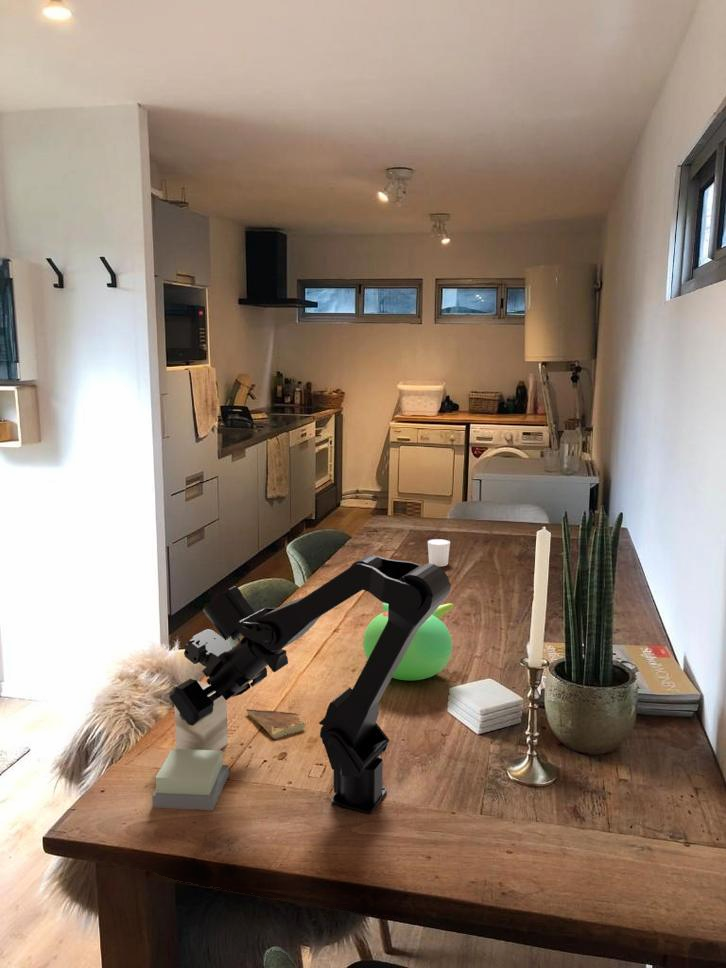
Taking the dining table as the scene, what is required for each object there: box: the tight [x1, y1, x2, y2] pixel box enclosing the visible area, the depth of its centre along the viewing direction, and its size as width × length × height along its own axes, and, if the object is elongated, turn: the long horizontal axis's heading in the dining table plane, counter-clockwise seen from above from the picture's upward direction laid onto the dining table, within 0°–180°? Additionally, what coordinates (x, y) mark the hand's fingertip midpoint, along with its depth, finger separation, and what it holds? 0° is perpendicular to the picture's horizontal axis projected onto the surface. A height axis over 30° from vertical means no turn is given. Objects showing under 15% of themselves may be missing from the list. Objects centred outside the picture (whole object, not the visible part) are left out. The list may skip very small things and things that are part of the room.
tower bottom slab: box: [151, 764, 230, 811], centre depth 116 cm, size 9×9×2 cm
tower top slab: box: [155, 748, 224, 795], centre depth 116 cm, size 8×8×2 cm
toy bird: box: [362, 602, 454, 682], centre depth 155 cm, size 18×17×15 cm
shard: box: [245, 709, 307, 740], centre depth 138 cm, size 11×8×2 cm
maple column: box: [173, 680, 229, 750], centre depth 128 cm, size 6×6×10 cm
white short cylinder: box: [427, 538, 451, 567], centre depth 233 cm, size 7×7×7 cm
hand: (194, 709), depth 128 cm, fingers closed on maple column, 6 cm apart
